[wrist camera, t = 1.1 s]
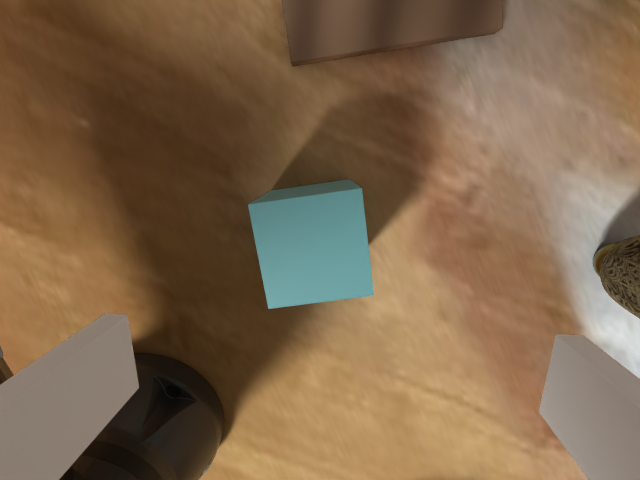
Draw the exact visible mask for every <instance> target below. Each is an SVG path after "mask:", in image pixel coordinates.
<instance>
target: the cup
mask: <svg viewBox="0 0 640 480" xmlns="http://www.w3.org/2000/svg"><path fill="white" fill-rule="evenodd" d="M593 267H594V270H595V272H596V273H597V274H598V275H599V276H600V278H601V282H602V285H603V287H604V289H605V290H606V292H607V293H608V294H609V296H610V297H611V298H612V299H613V300H615V301H616V302H617V303H618V304H619V305H621V306H622V307H623V308H625V309H626V310H628V311H629V312H631V313H632V314H634V315H635V316H637V317H638V318H640V235H639V236H634V237H631V238H628V239H626V240H623V241H621V242H614V243H609V244H607V245H605V246H603V247H602V248H600V249H599V250H598V251H597V253H596V254H595V256H594V259H593Z"/></svg>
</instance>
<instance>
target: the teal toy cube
mask: <svg viewBox="0 0 640 480" xmlns="http://www.w3.org/2000/svg"><path fill="white" fill-rule="evenodd" d="M248 208H249V213H250V218H251V223H252V228H253V233H254V238H255V244H256V249H257V254H258V259H259V264H260V269H261V274H262V279H263V284H264V289H265V294H266V299H267V304H268V309H272V308H280V307H288V306H296V305H303V304H311V303H319V302H327V301H335V300H342V299H350V298H358V297H366V296H373V295H374V291H373V282H372V273H371V264H370V256H369V247H368V238H367V229H366V220H365V211H364V202H363V193H362V188H361V187H360V186H358V185H357V184H356V183H355V182H353V181H352V180H351V179H347V180H340V181H333V182H326V183H319V184H312V185H305V186H298V187H291V188H284V189H278V190H271V191H269V192H267V193H266V194H264V195H263V196H261V197H259V198H258V199H256V200H254V201H253V202H251V203H250V204H248Z"/></svg>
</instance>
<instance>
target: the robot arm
mask: <svg viewBox="0 0 640 480" xmlns="http://www.w3.org/2000/svg"><path fill="white" fill-rule="evenodd" d="M539 413H540V414H541V416H542V417H543V418H544V420H545V421H546V422H547V424H548V425H549V427H550V428H551V429H552V431H553V432H554V433H555V435H556V436H557V437H558V439H559V440H560V441H561V443H562V444H563V446H564V447H565V448H566V450H567V451H568V452H569V454H570V455H571V456H572V458H573V459H574V460H575V462H576V463H577V465H578V466H579V467H580V469H581V470H582V471H583V473H584V474H585V475H586V477H587V478H588V479H589V480H640V379H639V378H638V377H636V376H635V375H634V374H632V373H631V372H630V371H629V370H627V369H626V368H625V367H623V366H622V365H621V364H620V363H618V362H617V361H616V360H614V359H613V358H612V357H611V356H609V355H608V354H607V353H606V352H604V351H603V350H602V349H600V348H599V347H598V346H597V345H595V344H594V343H593V342H591V341H590V340H589V339H588V338H586V337H585V336H583V335H561V334H556V337H555V342H554V346H553V351H552V355H551V360H550V364H549V369H548V373H547V378H546V382H545V387H544V391H543V396H542V400H541V405H540V409H539ZM223 430H224V415H223V410H222V406H221V404H220V401H219V399H218V397H217V395H216V393H215V392H214V390H213V389H212V387H211V386H210V385H209V384H208V382H207V381H206V380H205V379H204V378H203V377H202V376H200V375H199V374H198V373H197V372H195V371H194V370H193V369H191V368H190V367H188V366H186V365H184V364H182V363H180V362H178V361H176V360H173V359H170V358H167V357H163V356H159V355H153V354H134V352H133V346H132V340H131V334H130V328H129V321H128V315H121V314H104V315H102V316H101V317H99V318H98V319H96V320H95V321H93V322H92V323H90V324H89V325H87V326H86V327H84V328H83V329H82V330H80V331H79V332H77V333H76V334H74V335H73V336H71V337H70V338H68V339H67V340H65V341H64V342H62V343H61V344H59V345H58V346H56V347H55V348H53V349H52V350H51V351H49V352H48V353H46V354H45V355H43V356H42V357H40V358H39V359H37V360H36V361H34V362H33V363H31V364H30V365H28V366H27V367H25V368H24V369H23V370H21V371H20V372H18V373H17V374H15V375H13V373H12V371H11V370H10V368H9V367H8V365H7V364H6V362H5V360H4V359H3V351H2V349H1V347H0V480H199V478H200V477H201V476H202V475H203V474H204V473H205V472H206V470H207V469H208V468H209V466H210V465H211V463H212V461H213V459H214V457H215V455H216V452H217V449H218V447H219V444H220V441H221V438H222V435H223Z"/></svg>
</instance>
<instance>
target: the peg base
mask: <svg viewBox="0 0 640 480" xmlns="http://www.w3.org/2000/svg"><path fill="white" fill-rule="evenodd" d="M282 5H283V11H284V18H285V25H286V31H287V38H288V45H289V51H290V58H291V63H292V66H297V65H304V64H310V63H316V62H322V61H328V60H335V59H341V58H347V57H353V56H359V55H366V54H372V53H378V52H384V51H390V50H396V49H403V48H409V47H415V46H421V45H427V44H434V43H440V42H446V41H452V40H458V39H465V38H471V37H477V36H483V35H489V34H495V33H496V32H498V31H499V30H500V29H502V28H503V10H502V0H282Z"/></svg>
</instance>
